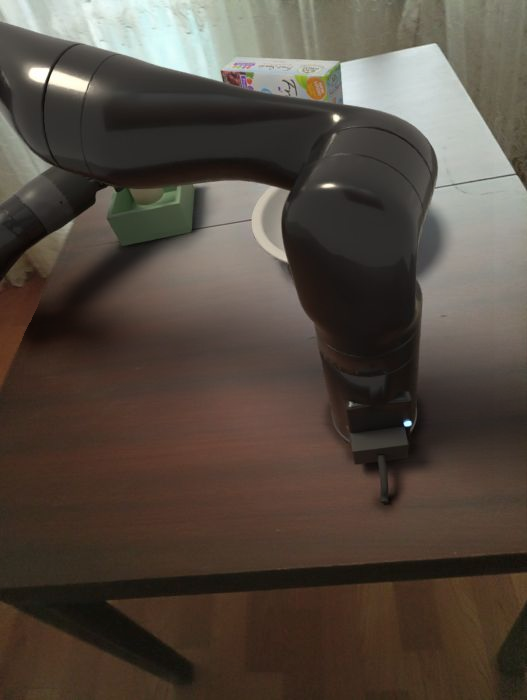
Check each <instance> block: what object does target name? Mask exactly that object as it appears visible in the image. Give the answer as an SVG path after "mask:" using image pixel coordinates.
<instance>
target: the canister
mask: <svg viewBox="0 0 527 700" xmlns="http://www.w3.org/2000/svg"><path fill="white" fill-rule="evenodd" d="M129 190H130V192H131V194H132V196H133V198H134V200H135V202H136V203H137V204H138V205H142V206H146V205H150V204H153V203H155V202H157V201H158V200H160V199H161V198H162V196H163V194H164V191H163V188H157V189H130V188H129Z"/></svg>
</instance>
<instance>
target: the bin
mask: <svg viewBox="0 0 527 700" xmlns="http://www.w3.org/2000/svg"><path fill="white" fill-rule="evenodd" d="M194 185H195V184H192V185H184V186H176V187H168V188H163V191H164V194H163V196H162V198H161V199H160V200H158V201H157V202H155V203H153V204H150V205H146V206H142V205H138V204H137V203H136V202H135V200H134V198H133V196H132V194H131V192H130V190H129V188H124V189H123V190H122V191H121V192H116V191H115V189H114V188H113V191H112V195H111V199H110V203H109V207H108V211H107V215H106V220H107V222H108V224H109V226H110V228H111V229H112V231H113V233H114V235H115V236H116V238H117V240H118V241H119V244H120V246H122V247H124V246H128V245H134V244H140V243H143V242H149V241H154V240H159V239H164V238H169V237H173V236H179V235H185V234H189V233H192V228H193V218H194V204H195V189H196V188H195V186H194Z"/></svg>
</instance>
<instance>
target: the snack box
mask: <svg viewBox="0 0 527 700" xmlns="http://www.w3.org/2000/svg"><path fill="white" fill-rule="evenodd" d="M341 65H342V64H341V61H340V60H322V59H321V60H319V59H299V58H298V59H297V58H293V59H292V58H273V57H251V56H248V57H247V56H234V58H232V59H231V60H230V61H229V62H228V63H227V64H226V65H224V66H223V67H222V68H221V69H220V70H219V71H220V75H221V80H222V82H224V83H228V84H232V85H235V86H239V87H243V88H247V89H251V90H256V91H261V92H265V93H271V94H277V95H284V96H290V97H297V98H304V99H311V100H318V101H325V102H332V103H339V104H344V94H343V93H344V92H343V81H342V66H341Z"/></svg>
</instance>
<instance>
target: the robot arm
mask: <svg viewBox="0 0 527 700" xmlns="http://www.w3.org/2000/svg"><path fill="white" fill-rule="evenodd" d="M0 114H1V115H2V117H3V119H4V120H5V121H6V123H7V124H8V125H9V127H10V128H11V129H12V131H13V132H14V133H15V134H16V136H17V137H18V138H19V140H20V141H21V142H22V143H23V144H24V145H25V146H26V148H27V149H29V151H31V152H32V153H33V154H34V155H35V156H36V157H38V158H39V159H40V160H42V161H43V162H45V163H46V164H49V166H50V165H51V166H50V167H49V168H48V169H46V170H44V171H43V172H41V173H40V174H38V175H37V176H35V177H33V178H32V179H31V180H29V181H28V182H26V183H25V184H24V185H22V186H21V187H20V188H19V189H17V191H15V192H14V193H13V194H11V195H10V196H9V197H7V198H6V199H4V200H3V201H1V202H0V283H1V282H2V281H3V279H4V278H5V277H6V275H8V273H9V272H10V270H11V269H12V268H13V267H14V265H16V263H17V262H18V261H19V260H20V259H21V257H22V256H23V255H24V254H25V252H27V251H28V250H30V249H31V248H33V247H34V246H35V245H37V244H38V243H40V242H41V241H43V240H44V239H45V238H47V237H48V236H49V235H51V234H53V233H55V232H58V231H59V230H61V229H62V228H64V227H65V226H66V225H68V224H69V223H71V222H72V221H73V220H74V219H75V220H76V218H78V217H79V216H80V215H82V214H83V213H84V212H86V211H88V210H89V209H90V208H92V207H93V206H95V204H96V201H97V197H96V196H97V193H98V192H100V191H102V190H105V189H106V188H108V187H111V188H113V190H114V189H115V191H116V192H121V191H122V190H123V189H124V188H130V189H157V188H168V187H176V186H184V185H192V184H193V185H198V184H207V183H215V182H225V181H227V182H228V181H229V182H231V181H233V182H234V181H235V182H237V181H240V182H248V183H255V184H260V185H265V186H269V187H270V186H273V187H277V188H281V189H284V190H287V191H290V193H289V194H288V196H287V198H286V201H285V203H284V206H283V210H282V216H281V230H282V239H283V245H284V249H285V253H286V257H287V261H288V264H287V265H288V267H289V268H288V269H289V271H290V274H291V278H292V282H293V284H294V288H295V291H296V295H297V298H298V301H299V304H300V307H301V308H302V310H303V312H304V313H305V315H306V316H307V317H308V319H309V320H310V321H311V322H312V323H313V326H314V331H315V336H316V341H317V347H318V351H319V357H320V363H321V366H322V371H323V376H324V381H325V386H326V391H327V396H328V397H327V398H328V401H329V405H330V406H329V407H330V412H331V415H330V416H331V420H332V424H333V427H334V429H335V431H336V433H337V434H338V435H339V436H340V437H341V439H342V440H344V442H346V443H347V444H349V446H350V448H351V452H352V456H353V463H354V465H362V464H370V463H371V464H372V463H377V465H378V473H379V480H380V481H379V482H380V494H379V495H380V503H381V504H385V505H387V504H389V477H388V469H387V461H395V460H403V459H408V458H409V447H410V445H411V434H412V433H413V431H414V430H415V427H416V424H417V419H418V408H417V407H418V406H417V405H418V404H417V403H418V385H419V383H418V382H419V365H420V350H421V349H420V348H421V335H422V317H423V301H424V298H423V290H422V287H421V285H420V283H419V281H418V279H417V270H418V269H417V268H418V255H419V244H420V239H421V237H422V233H423V229H424V226H425V223H426V219H427V217H428V212H429V210H430V207H431V203H432V201H433V200H432V199H433V196H434V193H435V188H436V186H437V181H438V178H439V177H438V175H439V162H438V157H437V154H436V152H435V149H434V147H433V145H432V144H431V142H430V140H429V138H427V137H426V135H424V133H423V132H422V131H421V130H419V129H418V128H417V127H416V126H415V125H413V124H412V123H411V122H408V121H407V120H405V119H403V118H401V117H399V116H396V115H395V114H392V113H388V112H386V111H382V110H380V109H379V110H378V109H375V108H374V109H373V108H370V107H364V106H360V105H359V106H358V105H352V104H345V103H343V104H339V103H332V102H325V101H318V100H311V99H304V98H297V97H290V96H284V95H277V94H271V93H265V92H261V91H256V90H251V89H247V88H243V87H239V86H235V85H232V84H228V83H224V82H223V81H220V80H216V79H213V78H209V77H205V76H201V75H197V74H194V73H188V72H186V71H181V70H178V69H174V68H169V67H165V66H161V65H158V64H155V63H151V62H149V61H145V60H143V59H139V58H137V57H133V56H130V55H127V54H122V53H119V52H115V51H112V50H108V49H104V48H101V47H98V46H94V45H90V44H86V43H83V42H78V41H74V40H73V41H72V40H68V39H64V38H59V37H55V36H51V35H48V34H44V33H41V32H37V31H34V30H31V29H28V28H24V27H21V26H18V25H15V24H11V23H8V22H4V21H1V20H0Z"/></svg>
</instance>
